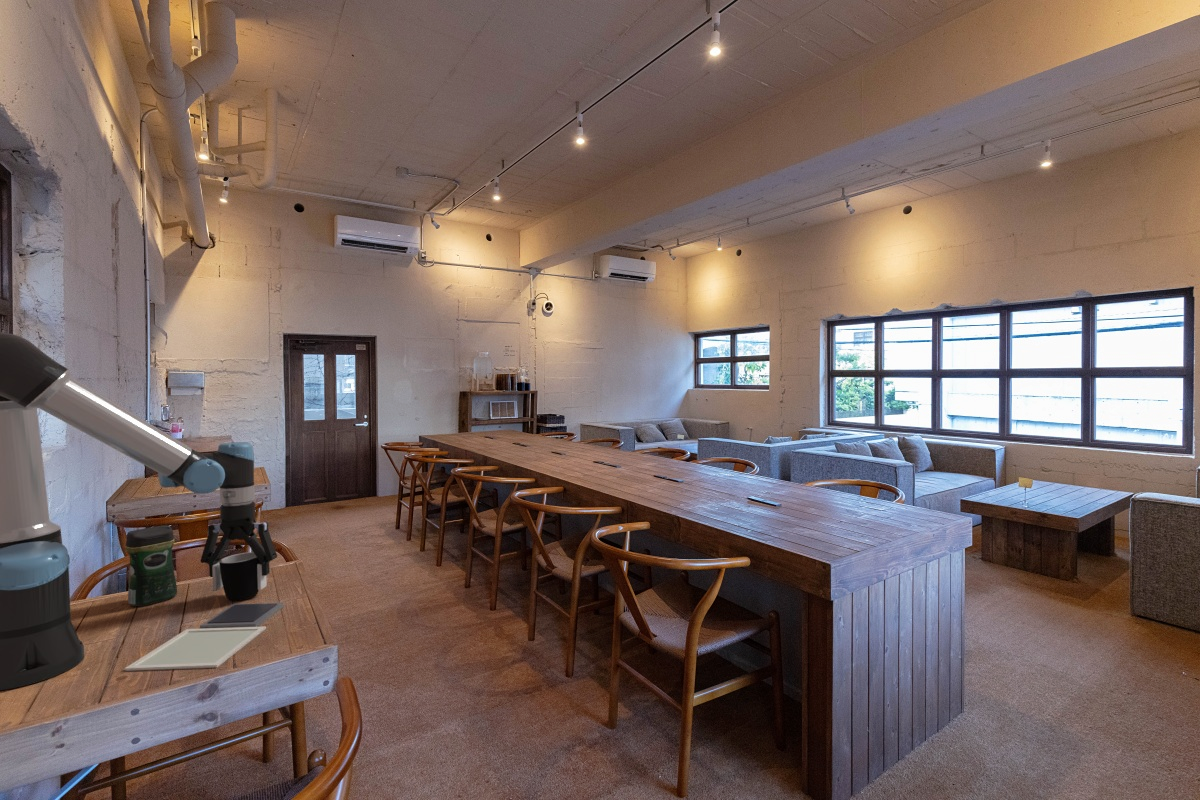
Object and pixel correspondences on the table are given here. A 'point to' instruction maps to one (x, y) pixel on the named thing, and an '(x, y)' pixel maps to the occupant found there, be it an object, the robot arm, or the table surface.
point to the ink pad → (243, 615)
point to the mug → (239, 576)
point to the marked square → (197, 649)
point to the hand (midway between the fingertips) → (240, 588)
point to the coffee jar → (151, 565)
